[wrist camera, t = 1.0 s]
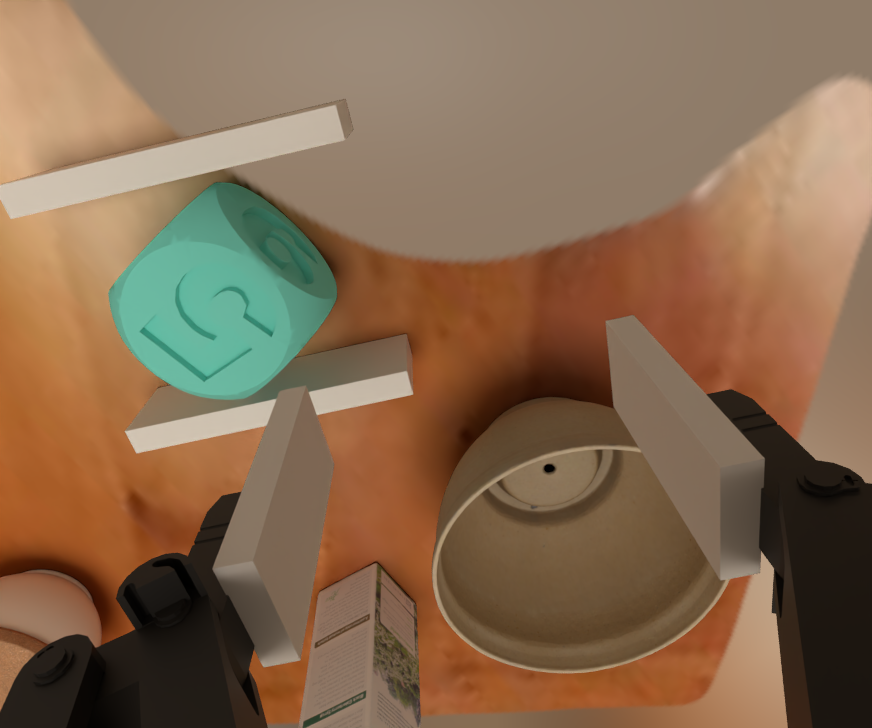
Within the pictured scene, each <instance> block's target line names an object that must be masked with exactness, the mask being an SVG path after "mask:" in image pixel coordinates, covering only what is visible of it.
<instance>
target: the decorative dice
mask: <svg viewBox="0 0 872 728" xmlns="http://www.w3.org/2000/svg"><path fill="white" fill-rule="evenodd" d="M108 294H109V302H110V308H111V312H112V316H113V319H114V322H115V325H116V328H117V330H118V332H119V334H120V336H121V338H122V339H123V341H124V343H125V344H126V346H127V347H128V348H129V350H130V351H131V352H132V353H133V354H134V356H135V357H136V358H137V359H138V360H139V361H140V362H141V363H142V364H143V365H144V366H145V367H146V368H148V369H149V370H150V371H151V372H152V373H154V374H155V375H156V376H158V377H159V378H160V379H162V380H163V381H165V382H167V383H168V384H170V385H172V386H174V387H175V388H177V389H179V390H182V391H184V392H186V393H189V394H192V395H195V396H199V397H204V398H210V399H219V400H236V399H245V398H247V397H249V396H251V395H253V394H254V393H256V392H257V391H258V390H260V389H261V388H262V387H264V386H265V385H266V384H267V383H268V382H269V381H271V380H272V379H273V378H274V377H275V376H276V375H277V374H278V373H279V372H280V371H281V370H282V369H283V368H284V367H285V366H286V365H287V364H288V363H289V362H290V361H291V360H292V359H293V358H294V357H295V356H296V355H297V354H298V353H299V351H300V350H301V349H302V348H303V347H304V346H305V345H306V343H307V342H308V341H309V340H310V339H311V337H312V336H313V335H314V334H315V332H316V331H317V330H318V329H319V327H320V326H321V325H322V323H323V322H324V320H325V319H326V317H327V316H328V314H329V313H330V311H331V309H332V308H333V306H334V304H335V302H336V299H337V286H336V281H335V279H334V276H333V274H332V272H331V270H330V268H329V266H328V265H327V263H326V261H325V260H324V258H323V257H322V255H321V254H320V253H319V251H318V250H317V249H316V247H315V246H314V245H313V244H312V243H311V241H310V240H309V239H308V238H307V237H306V236H305V235H304V234H303V232H302V231H301V230H300V229H299V228H298V227H297V226H296V225H295V224H294V223H293V222H291V221H290V220H289V219H288V218H287V217H286V216H285V215H284V214H283V213H281V212H280V211H279V210H278V209H276V208H275V207H274V206H273V205H271V204H270V203H269V202H267V201H266V200H264V199H263V198H262V197H260V196H258V195H257V194H255V193H253V192H252V191H250V190H248V189H246V188H244V187H242V186H239V185H236V184H233V183H222V182H216V183H214V184H212V185H211V186H210V187H208V188H207V189H206V190H204V191H203V192H202V193H201V194H200V195H199V196H197V197H196V198H195V199H194V200H193V201H192V202H191V203H190V204H189V205H187V206H186V207H185V208H184V209H183V210H182V211H181V212H180V213H179V214H178V215H177V216H176V217H175V218H174V219H173V220H172V221H171V222H170V223H169V224H168V225H167V226H166V227H165V228H164V229H163V230H162V231H161V232H160V233H159V234H158V235H157V236H156V237H155V238H154V239H153V240H152V241H151V242H150V243H149V244H148V245H147V246H146V247H145V248H144V250H143V251H142V252H141V253H140V254H139V255H138V256H137V257H136V258H135V259H134V260H133V262H132V263H131V264H130V265H129V266H128V267H127V268H126V270H125V271H124V272H123V273H122V274H121V276H120V277H119V278H118V279H117V281H116V282H115V283H114V284H113V286H112V287H111V289H110V291H109V293H108Z"/></svg>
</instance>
